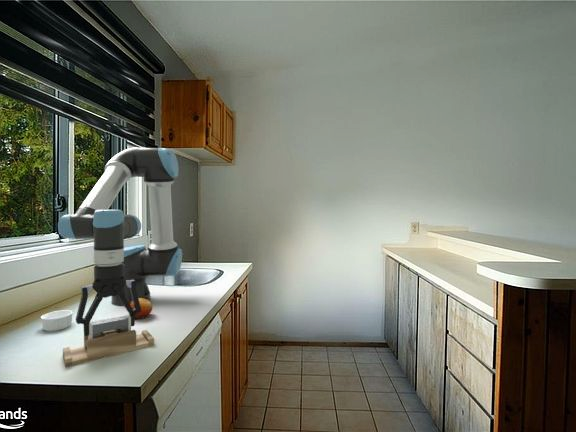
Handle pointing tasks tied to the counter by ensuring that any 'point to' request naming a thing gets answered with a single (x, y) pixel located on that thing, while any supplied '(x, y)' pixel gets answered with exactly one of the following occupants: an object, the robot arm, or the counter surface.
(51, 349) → the counter surface
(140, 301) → the fruit
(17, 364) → the counter surface
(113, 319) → the clip
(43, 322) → the ramekin
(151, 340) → the rail
